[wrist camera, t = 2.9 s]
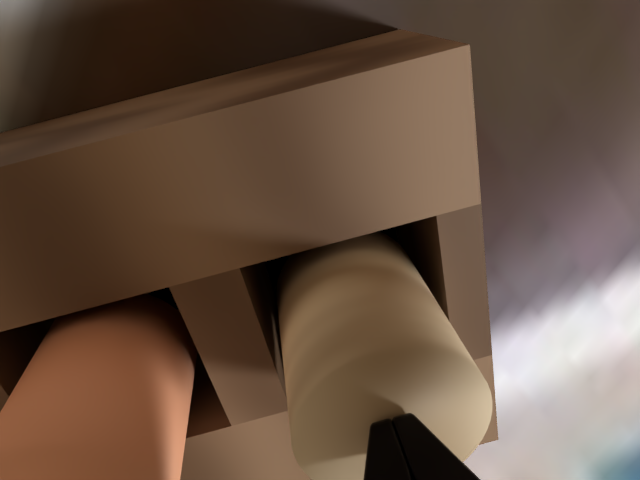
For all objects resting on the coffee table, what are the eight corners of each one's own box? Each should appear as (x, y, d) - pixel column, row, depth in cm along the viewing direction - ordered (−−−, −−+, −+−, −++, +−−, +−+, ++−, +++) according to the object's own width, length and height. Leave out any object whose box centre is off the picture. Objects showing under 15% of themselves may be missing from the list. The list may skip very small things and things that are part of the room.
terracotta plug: (87, 416, 15) (18, 599, 10) (20, 312, 13) (-100, 480, 8) (216, 381, 15) (202, 548, 10) (167, 272, 13) (126, 419, 8)
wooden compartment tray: (-38, 470, 19) (-121, 610, 15) (-275, 203, 14) (-519, 302, 9) (441, 340, 20) (498, 439, 15) (399, 29, 14) (469, 44, 10)
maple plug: (295, 360, 15) (317, 516, 10) (259, 248, 13) (266, 381, 8) (422, 325, 15) (497, 466, 10) (403, 210, 13) (486, 321, 8)
